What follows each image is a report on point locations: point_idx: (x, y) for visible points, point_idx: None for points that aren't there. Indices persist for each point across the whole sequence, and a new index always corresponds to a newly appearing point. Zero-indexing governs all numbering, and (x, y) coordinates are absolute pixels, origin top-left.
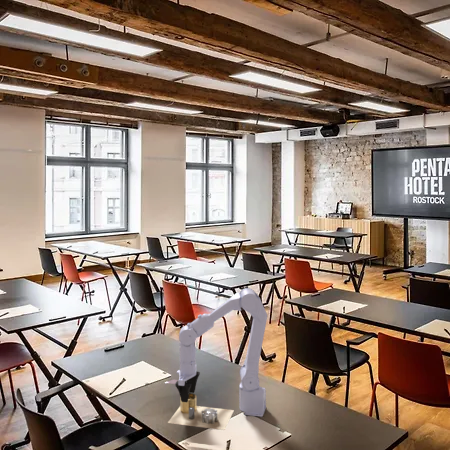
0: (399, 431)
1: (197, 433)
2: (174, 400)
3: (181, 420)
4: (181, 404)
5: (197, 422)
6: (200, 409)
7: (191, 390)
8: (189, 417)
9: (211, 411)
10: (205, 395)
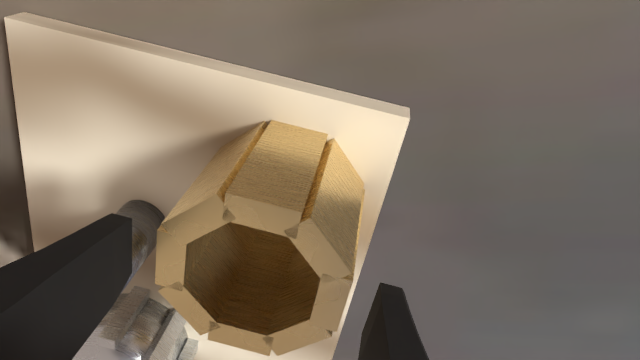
0: None
1: (2, 244)
2: (596, 9)
3: (84, 143)
4: (218, 168)
5: None
6: None
7: (367, 334)
8: (115, 213)
9: None
10: (637, 309)
